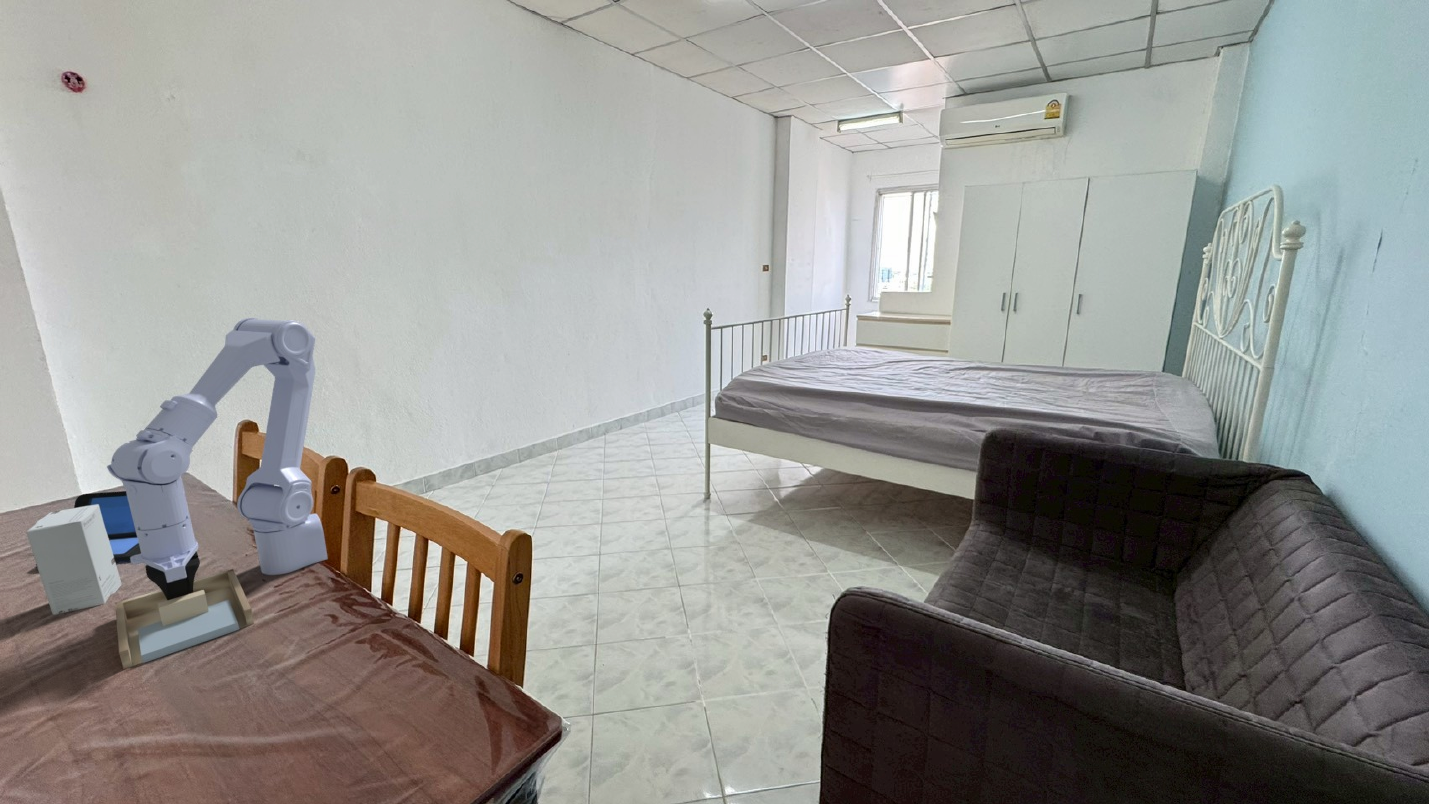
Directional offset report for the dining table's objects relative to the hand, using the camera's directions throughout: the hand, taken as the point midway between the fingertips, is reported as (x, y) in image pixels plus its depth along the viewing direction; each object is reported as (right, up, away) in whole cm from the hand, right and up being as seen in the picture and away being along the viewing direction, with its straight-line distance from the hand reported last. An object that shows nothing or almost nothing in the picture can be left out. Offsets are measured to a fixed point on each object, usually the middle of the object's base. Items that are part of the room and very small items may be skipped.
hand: (182, 604), depth 84 cm
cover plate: (+4, -3, -3) cm, 5 cm away
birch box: (+1, -3, 0) cm, 3 cm away
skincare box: (-20, -2, +6) cm, 21 cm away
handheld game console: (-33, +2, +22) cm, 40 cm away
